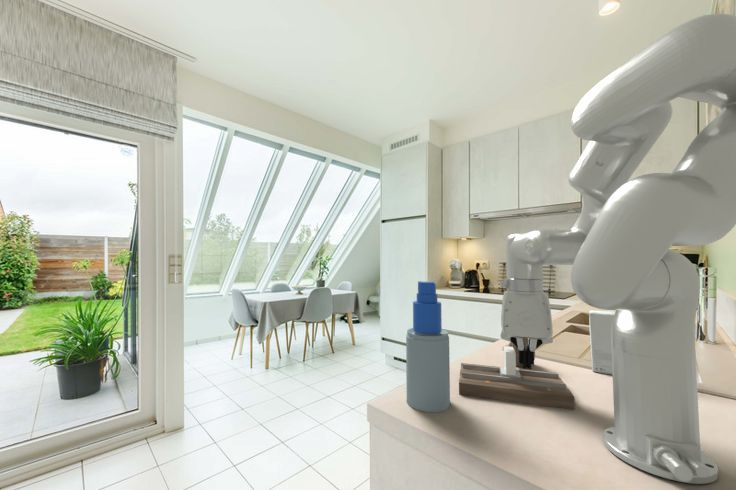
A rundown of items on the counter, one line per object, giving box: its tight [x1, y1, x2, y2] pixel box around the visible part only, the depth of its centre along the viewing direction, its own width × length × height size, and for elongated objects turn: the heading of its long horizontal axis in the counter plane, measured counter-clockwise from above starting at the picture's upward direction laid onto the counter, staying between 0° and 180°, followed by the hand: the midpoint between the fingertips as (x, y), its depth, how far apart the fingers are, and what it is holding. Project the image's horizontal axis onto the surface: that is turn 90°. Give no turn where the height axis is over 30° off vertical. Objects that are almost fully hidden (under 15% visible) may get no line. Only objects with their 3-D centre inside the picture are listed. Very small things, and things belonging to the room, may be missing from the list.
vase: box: [508, 338, 536, 368], centre depth 88 cm, size 7×7×9 cm
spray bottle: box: [405, 280, 451, 413], centre depth 65 cm, size 9×9×25 cm
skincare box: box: [588, 309, 616, 376], centre depth 84 cm, size 8×7×16 cm
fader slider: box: [499, 345, 521, 378], centre depth 72 cm, size 5×4×6 cm
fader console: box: [458, 362, 576, 411], centre depth 71 cm, size 14×22×4 cm, turn 71°
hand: (526, 367), depth 71 cm, fingers closed
